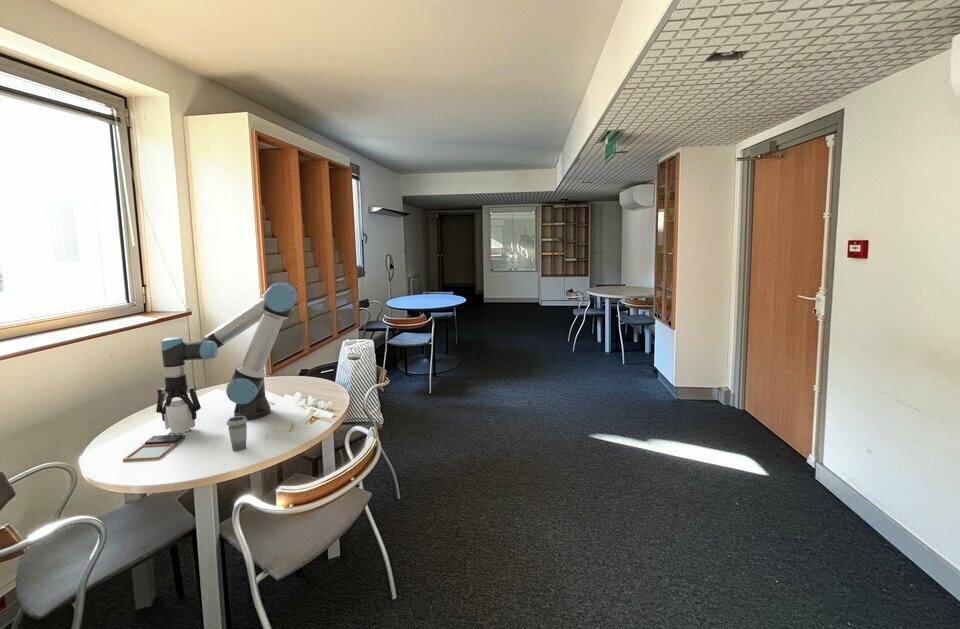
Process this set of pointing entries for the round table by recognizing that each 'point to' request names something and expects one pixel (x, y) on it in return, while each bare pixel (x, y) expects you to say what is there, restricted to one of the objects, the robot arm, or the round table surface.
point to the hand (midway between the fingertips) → (180, 427)
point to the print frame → (149, 452)
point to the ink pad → (165, 439)
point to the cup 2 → (238, 432)
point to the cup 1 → (178, 417)
